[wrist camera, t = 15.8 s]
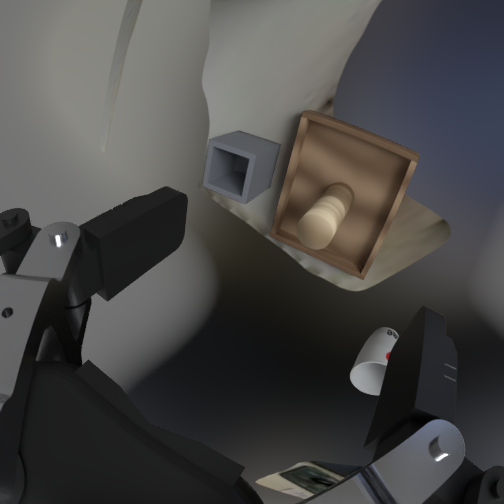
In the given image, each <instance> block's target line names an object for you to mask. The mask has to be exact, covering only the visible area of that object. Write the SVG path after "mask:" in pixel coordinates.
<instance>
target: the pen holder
mask: <svg viewBox="0 0 504 504" xmlns="http://www.w3.org/2000/svg"><path fill="white" fill-rule="evenodd" d="M280 145H281V144H278V143H275V142H272V141H269V140H266V139H263V138H260V137H257V136H254V135H251V134H248V133H245V132H242V131H236V132H232V133H229V134H225V135H222V136H219V137H215V138H212V139H209V146H208V152H207V159H206V165H205V172H204V179H203V187H206V188H208V189H211V190H213V191H215V192H218V193H220V194H223V195H225V196H227V197H230V198H232V199H234V200H237V201H239V202H242V203H244V204H247V203H248V202H249V201H251V200H252V199H254V198H255V197H257V196H258V195H259V194H261V193H262V192H264V191H265V190H267V189H268V188H270V185H271V181H272V177H273V173H274V169H275V165H276V161H277V157H278V153H279V149H280Z"/></svg>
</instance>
